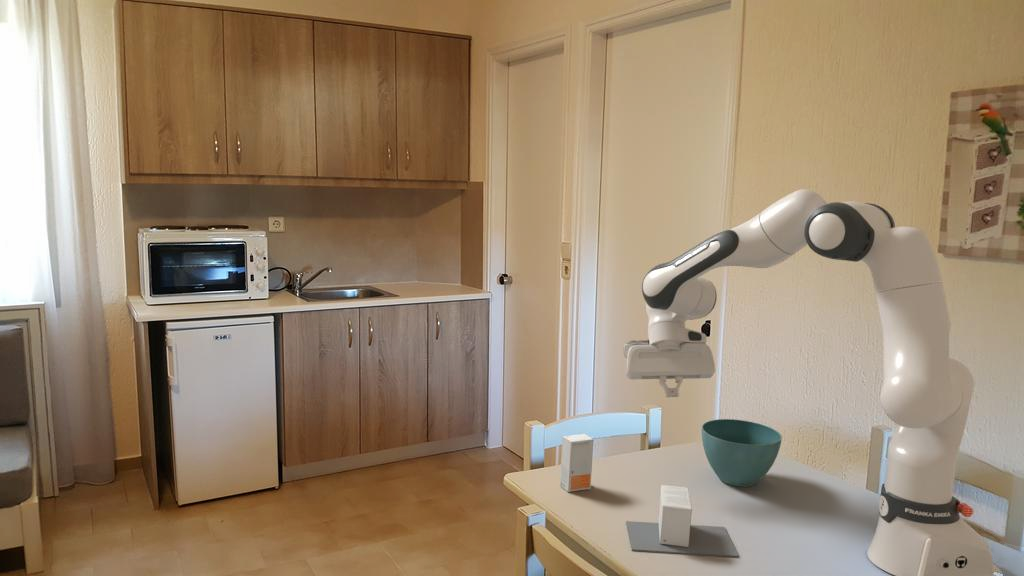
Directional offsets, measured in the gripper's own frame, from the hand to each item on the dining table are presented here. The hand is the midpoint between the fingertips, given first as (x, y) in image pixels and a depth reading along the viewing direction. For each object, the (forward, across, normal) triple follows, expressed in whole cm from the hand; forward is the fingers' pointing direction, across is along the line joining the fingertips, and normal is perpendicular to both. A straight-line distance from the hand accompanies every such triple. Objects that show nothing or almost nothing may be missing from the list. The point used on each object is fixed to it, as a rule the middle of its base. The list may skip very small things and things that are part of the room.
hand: (672, 396), depth 168 cm
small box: (+25, -3, -7) cm, 26 cm away
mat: (+32, -2, -11) cm, 34 cm away
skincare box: (+19, -23, +8) cm, 31 cm away
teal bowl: (+16, +16, +18) cm, 29 cm away
